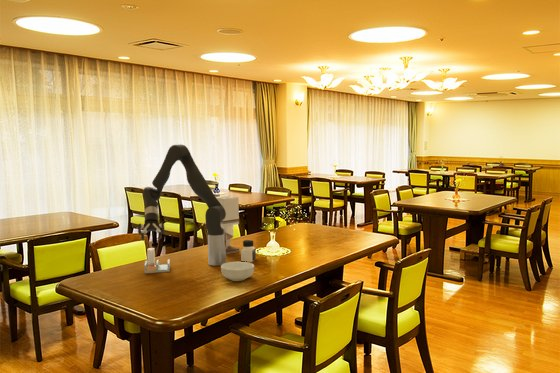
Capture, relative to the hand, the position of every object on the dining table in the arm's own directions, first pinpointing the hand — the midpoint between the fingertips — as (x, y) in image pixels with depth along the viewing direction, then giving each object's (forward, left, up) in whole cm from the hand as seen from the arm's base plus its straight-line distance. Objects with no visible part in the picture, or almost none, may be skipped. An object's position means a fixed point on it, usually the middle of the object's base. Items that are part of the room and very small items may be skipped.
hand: (151, 239), depth 251 cm
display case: (-25, -46, -16) cm, 55 cm away
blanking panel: (-2, +4, -15) cm, 15 cm away
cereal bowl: (-54, +7, -16) cm, 57 cm away
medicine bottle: (-46, -29, -16) cm, 57 cm away
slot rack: (-5, +3, -16) cm, 17 cm away
